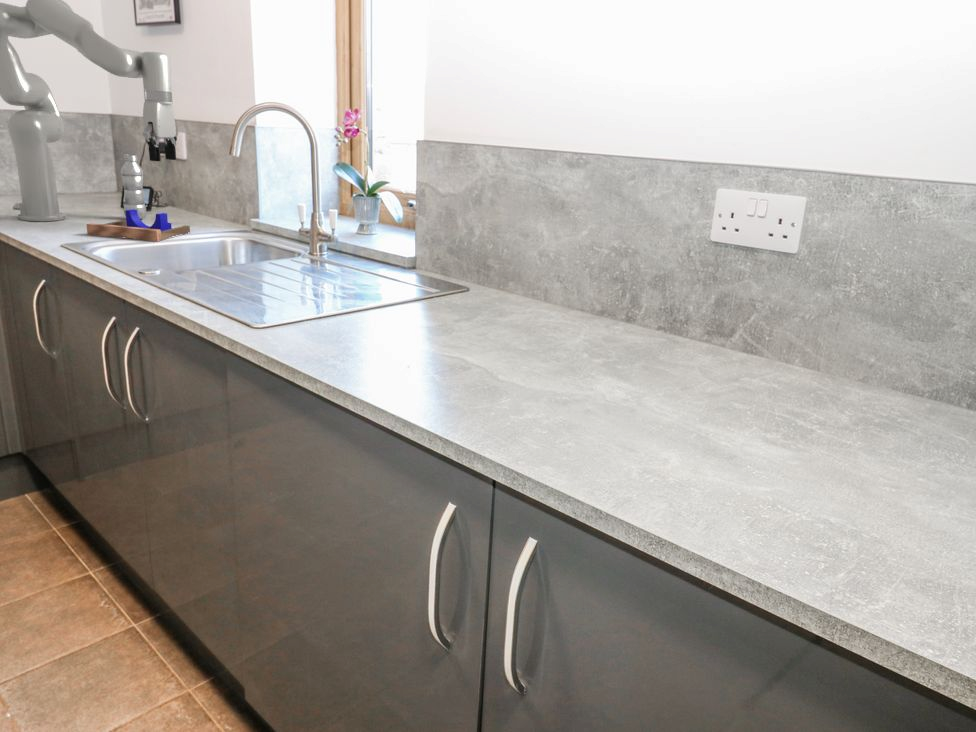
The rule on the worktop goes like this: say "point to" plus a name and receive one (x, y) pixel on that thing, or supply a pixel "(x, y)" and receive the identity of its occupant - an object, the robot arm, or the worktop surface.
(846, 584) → the worktop surface
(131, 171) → the plastic bottle
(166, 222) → the cable clip
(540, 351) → the worktop surface
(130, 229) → the guide channel
